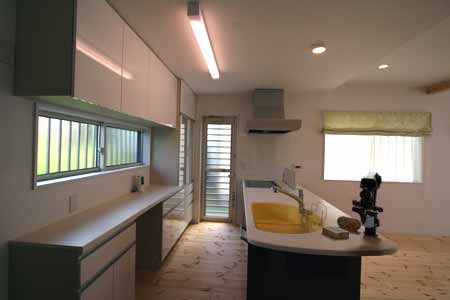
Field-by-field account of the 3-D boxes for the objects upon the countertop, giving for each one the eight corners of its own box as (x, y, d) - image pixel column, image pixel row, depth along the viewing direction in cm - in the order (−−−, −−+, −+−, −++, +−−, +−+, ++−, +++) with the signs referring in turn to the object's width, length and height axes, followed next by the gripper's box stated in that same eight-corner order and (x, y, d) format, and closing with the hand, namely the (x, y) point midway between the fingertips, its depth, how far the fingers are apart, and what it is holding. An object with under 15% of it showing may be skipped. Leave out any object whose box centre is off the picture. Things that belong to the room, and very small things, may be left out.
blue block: (366, 224, 145) (366, 214, 145) (373, 227, 140) (374, 216, 140) (360, 224, 143) (360, 215, 143) (367, 227, 138) (367, 217, 138)
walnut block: (335, 232, 157) (335, 226, 157) (348, 238, 147) (349, 231, 147) (322, 233, 154) (322, 227, 154) (334, 239, 144) (334, 233, 144)
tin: (336, 226, 168) (337, 215, 168) (338, 226, 170) (338, 214, 170) (359, 232, 157) (360, 220, 157) (361, 231, 160) (361, 219, 160)
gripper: (367, 195, 152) (366, 219, 152) (345, 195, 146) (344, 220, 146) (384, 198, 141) (383, 224, 141) (360, 199, 136) (359, 226, 136)
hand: (366, 223), depth 141 cm, fingers closed on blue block, 5 cm apart
